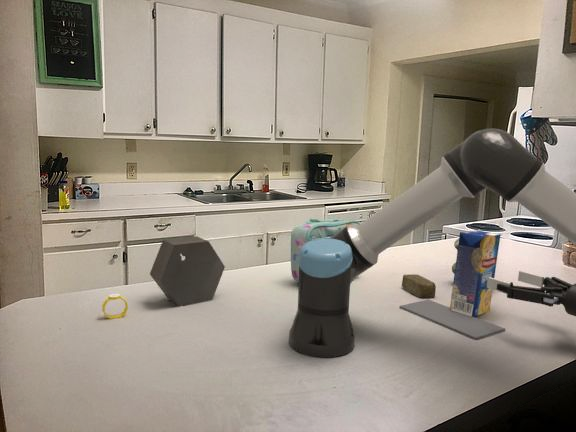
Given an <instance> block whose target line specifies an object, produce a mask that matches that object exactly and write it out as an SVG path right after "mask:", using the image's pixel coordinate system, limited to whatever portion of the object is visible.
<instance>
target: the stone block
mask: <svg viewBox="0 0 576 432" xmlns="http://www.w3.org/2000/svg"><path fill="white" fill-rule="evenodd" d="M401 287H402V288H403V289H404V290H405V291H407V292H409V293H410V294H412V295H414V296H415V297H418V298H421V299H431V298H435V297H436V291H437V290H436V288H437V287H436V284H435V282H433V281H431V280H430V279H428V278H426V277H424V276H421V275H420V274H417V273H416V274H403V275H402V281H401Z"/></svg>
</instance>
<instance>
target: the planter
mask: <svg viewBox="0 0 576 432" xmlns="http://www.w3.org/2000/svg"><path fill="white" fill-rule="evenodd" d="M183 257H185V258H184V259H182V258H183ZM225 267H226V266H225V264H224V262H223V261H222V260H221V257H219V256H218V254H217V252H216V250H215V249H214V247H213V245H212V244H211V243H210V240H209V241H208V240H207V239H204V238H201V237H199V236H197V235H195V236H194V235H193V236H185V237H176V238H175V237H174V238H166V239H165V238H164V239H162V242H161V244H160V247H159V249H158V252H157V254H156V257H155V260H154V262H153V264H152V268H151V269H150V272H149V276H151V278H152V279H153V281H154V282H155V283H156V285H157V286H158V288H159V289H160V290H161V292H163V294H164V295H165V297H166V298H167V299H168V300H169V301H171V302H172V303H174V304H175V305H176V306H178V307H184V306H189V305H196V304H200V303H205V302H210V301H213V299H214V297H215V294H216V292H217V290H218V287H219V284H220V280H221V278H222V276H223V273H224V271H225Z"/></svg>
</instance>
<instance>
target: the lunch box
mask: <svg viewBox="0 0 576 432" xmlns="http://www.w3.org/2000/svg"><path fill="white" fill-rule="evenodd" d="M360 224H361V223H360V222H358V221H357V220H354V219H353V220H345V219H339V218H329V219H319V220H318V219H317V218H309V221H304V222H301V223H298V224H296V225H294V227H293V229H292V230H291V234H290V237H291V238H290V271H291V276H292V278H293V280H294V281H295V282H297V283H299V256H300V251H301V248H302V246H303V245H304V244H305V243H307V242H309V241H312V240H317V239H329V238H330V237H332V236H334V235H335V234H337V233H338V232H340V231H341V230H342V229H344V228H345V227H347V226H348V225H356V226H358V225H360Z"/></svg>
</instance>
